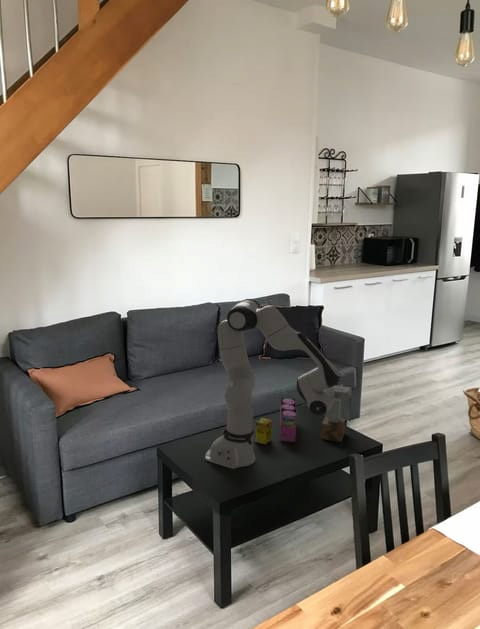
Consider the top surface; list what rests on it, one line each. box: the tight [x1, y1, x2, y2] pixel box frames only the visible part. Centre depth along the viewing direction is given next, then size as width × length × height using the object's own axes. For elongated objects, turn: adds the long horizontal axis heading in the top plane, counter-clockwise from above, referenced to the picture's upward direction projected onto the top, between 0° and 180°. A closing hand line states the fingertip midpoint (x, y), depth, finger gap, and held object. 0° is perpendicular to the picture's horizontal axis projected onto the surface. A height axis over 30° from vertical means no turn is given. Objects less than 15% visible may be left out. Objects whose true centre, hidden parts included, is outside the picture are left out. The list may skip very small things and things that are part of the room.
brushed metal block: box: [327, 399, 342, 424], centre depth 249 cm, size 5×5×12 cm
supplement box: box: [254, 417, 273, 446], centre depth 244 cm, size 6×6×11 cm
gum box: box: [279, 397, 298, 443], centre depth 256 cm, size 24×8×14 cm, turn 175°
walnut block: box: [320, 415, 346, 443], centre depth 252 cm, size 10×10×8 cm
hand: (330, 384), depth 231 cm, fingers open, 8 cm apart
